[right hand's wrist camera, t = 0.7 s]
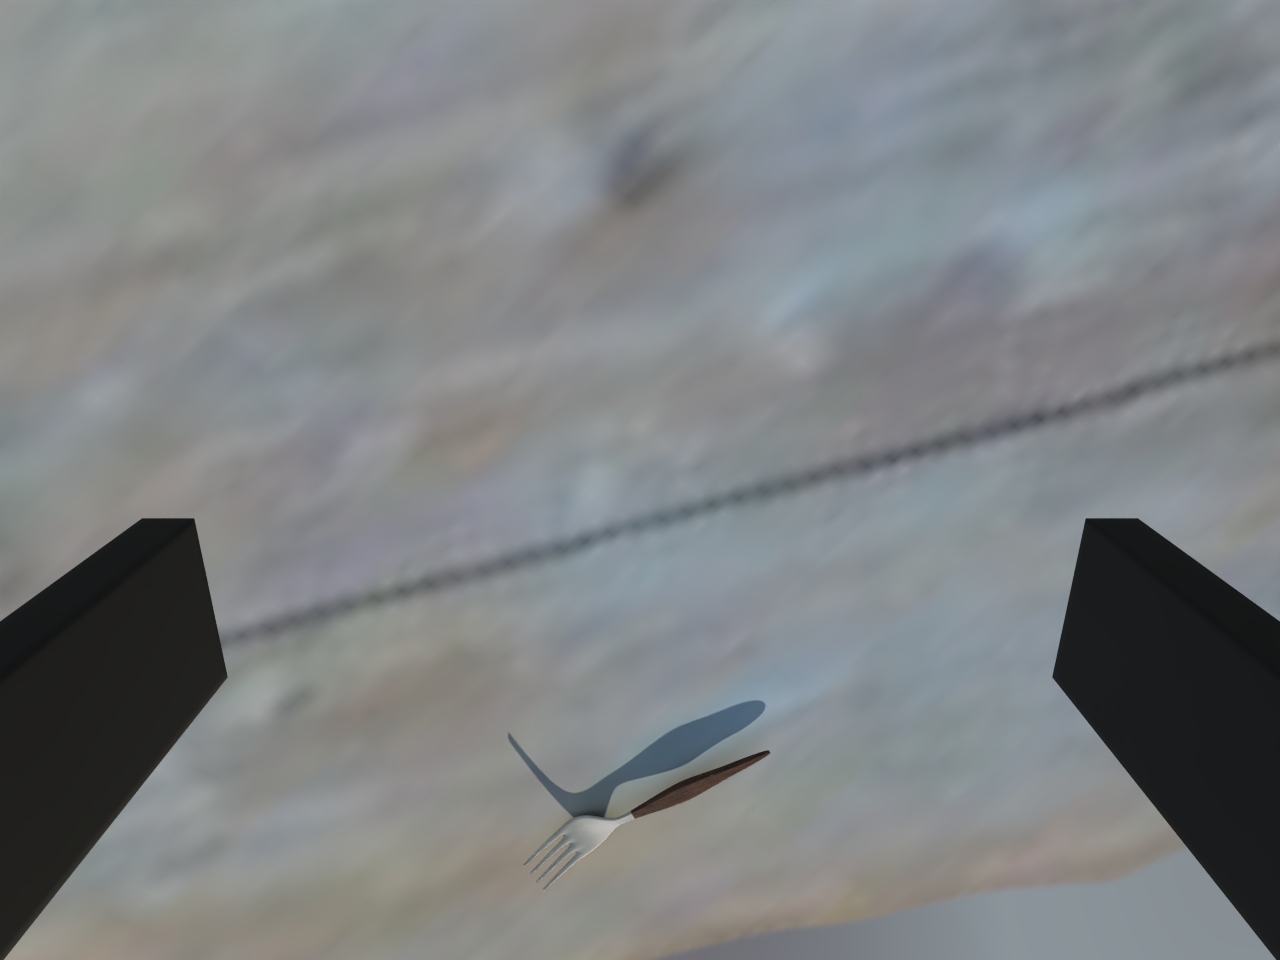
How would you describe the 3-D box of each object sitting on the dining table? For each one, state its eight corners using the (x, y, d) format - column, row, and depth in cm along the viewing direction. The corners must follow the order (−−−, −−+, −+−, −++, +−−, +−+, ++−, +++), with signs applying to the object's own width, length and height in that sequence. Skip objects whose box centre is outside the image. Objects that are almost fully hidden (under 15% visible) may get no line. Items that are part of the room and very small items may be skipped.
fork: (778, 762, 49) (784, 785, 47) (548, 867, 52) (544, 893, 50) (757, 729, 48) (762, 752, 46) (525, 838, 51) (520, 864, 49)
